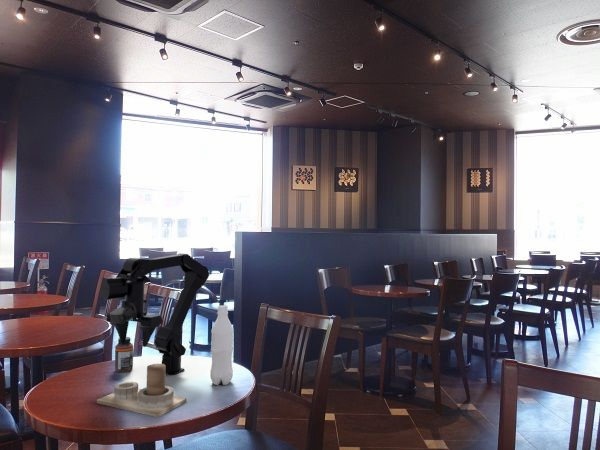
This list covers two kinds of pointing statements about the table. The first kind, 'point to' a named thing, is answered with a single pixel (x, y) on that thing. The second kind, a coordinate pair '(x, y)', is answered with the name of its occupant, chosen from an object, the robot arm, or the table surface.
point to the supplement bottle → (124, 356)
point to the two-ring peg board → (141, 399)
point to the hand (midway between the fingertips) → (133, 345)
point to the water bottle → (222, 348)
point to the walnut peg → (156, 379)
